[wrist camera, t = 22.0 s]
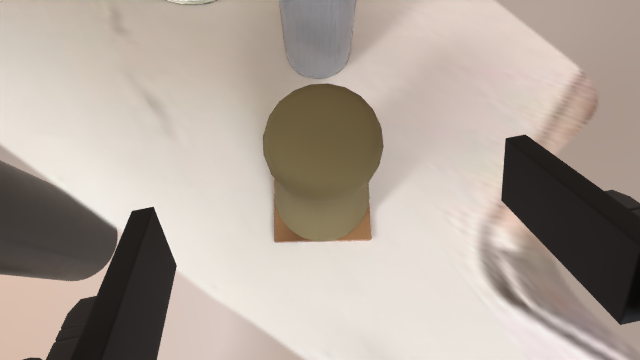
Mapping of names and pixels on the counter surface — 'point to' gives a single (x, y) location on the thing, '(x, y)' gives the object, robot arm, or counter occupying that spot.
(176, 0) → the coffee can
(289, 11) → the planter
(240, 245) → the counter surface
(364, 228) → the coaster
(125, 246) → the robot arm
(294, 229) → the pepper shaker
